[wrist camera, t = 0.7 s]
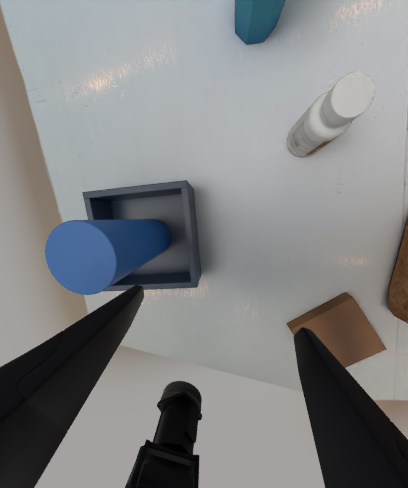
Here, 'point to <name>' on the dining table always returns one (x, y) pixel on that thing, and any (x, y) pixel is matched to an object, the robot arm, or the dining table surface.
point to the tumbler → (102, 251)
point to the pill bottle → (331, 114)
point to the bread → (400, 283)
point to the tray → (171, 214)
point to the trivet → (341, 329)
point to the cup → (256, 18)
